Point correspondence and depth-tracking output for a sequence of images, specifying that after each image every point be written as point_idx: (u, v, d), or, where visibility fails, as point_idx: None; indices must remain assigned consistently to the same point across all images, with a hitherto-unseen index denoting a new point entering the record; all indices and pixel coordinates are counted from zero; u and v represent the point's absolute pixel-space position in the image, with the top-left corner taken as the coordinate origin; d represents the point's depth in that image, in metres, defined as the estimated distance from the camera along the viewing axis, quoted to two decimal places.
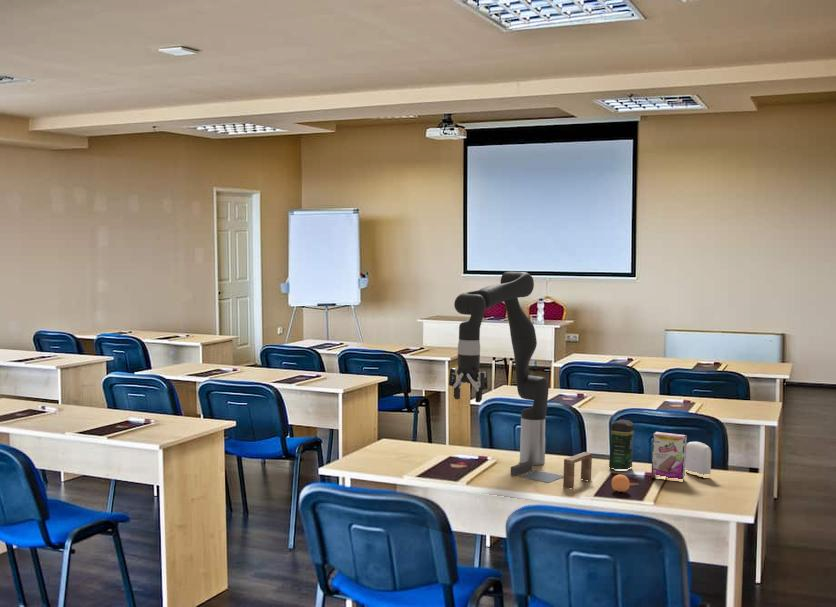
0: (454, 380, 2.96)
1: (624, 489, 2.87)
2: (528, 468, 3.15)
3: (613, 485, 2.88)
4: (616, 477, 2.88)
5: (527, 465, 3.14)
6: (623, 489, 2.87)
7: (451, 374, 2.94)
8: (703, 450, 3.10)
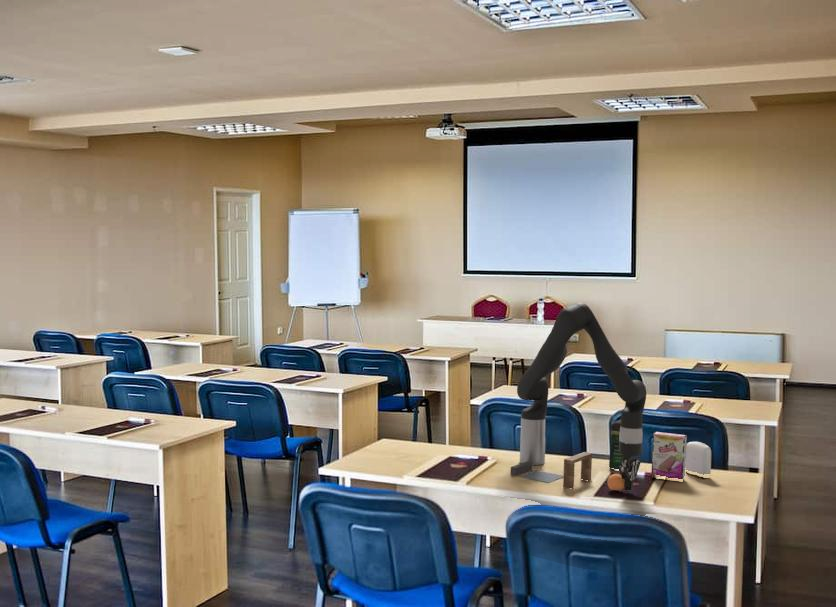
0: None
1: (621, 486, 2.88)
2: (528, 468, 3.15)
3: (609, 485, 2.89)
4: (610, 477, 2.90)
5: (527, 465, 3.14)
6: (620, 486, 2.88)
7: (627, 471, 2.84)
8: (703, 450, 3.10)
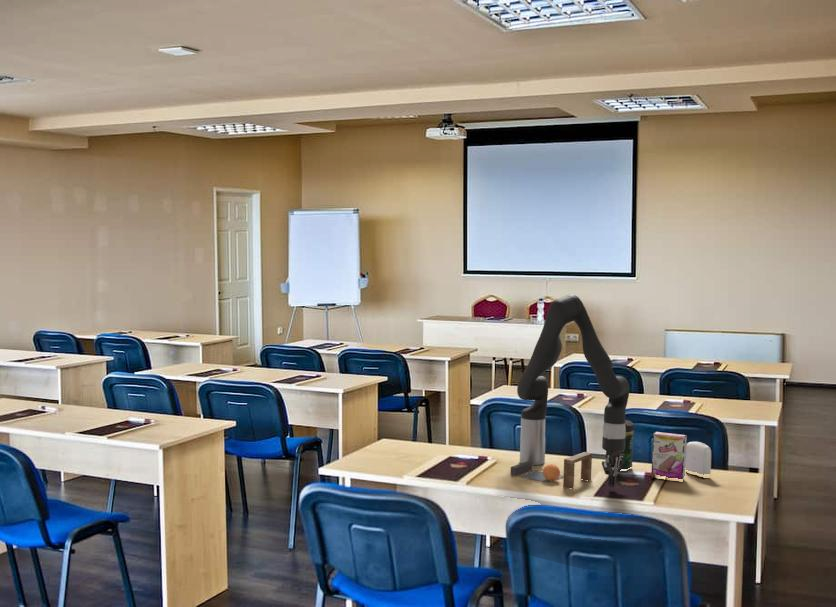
0: None
1: (552, 467, 3.00)
2: (528, 468, 3.15)
3: (549, 478, 3.00)
4: (543, 475, 3.02)
5: (527, 465, 3.14)
6: (551, 468, 3.00)
7: (610, 466, 2.87)
8: (703, 450, 3.10)
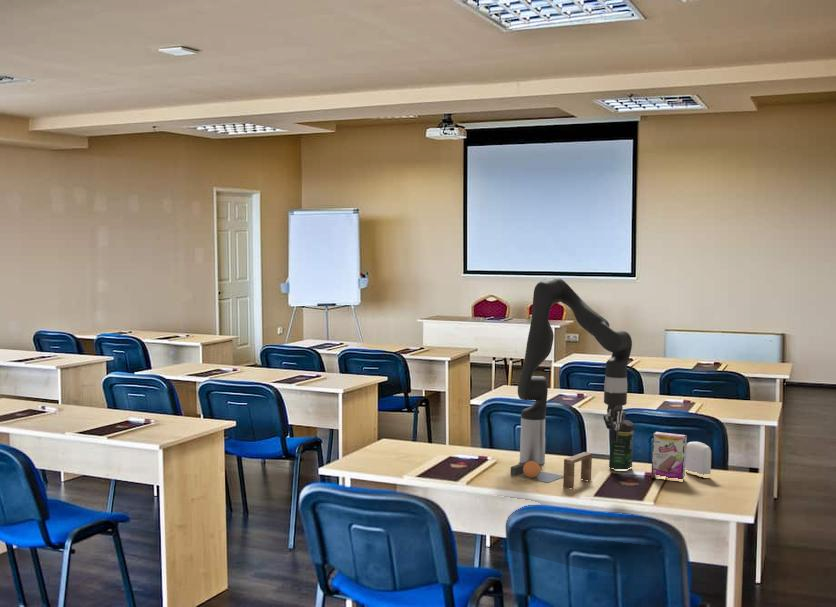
0: None
1: (524, 472, 3.05)
2: None
3: (530, 467, 3.03)
4: (536, 473, 3.03)
5: None
6: (524, 472, 3.05)
7: (612, 420, 2.86)
8: (703, 450, 3.10)
